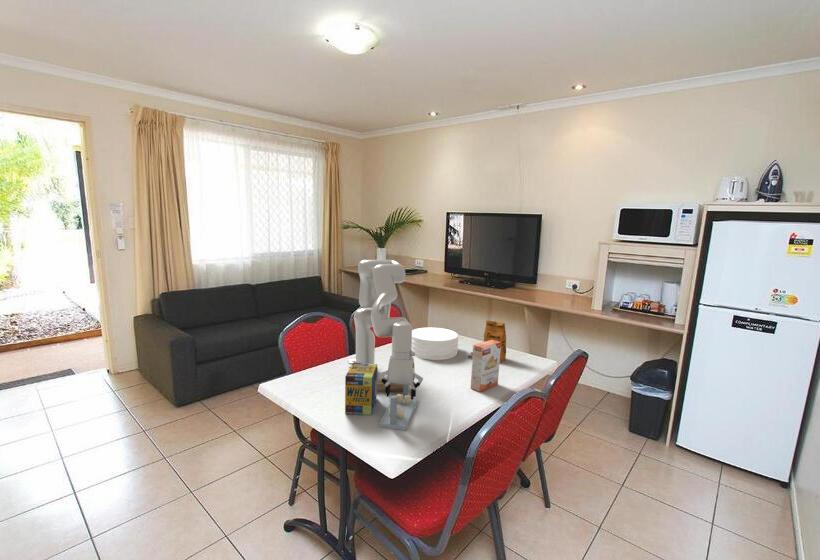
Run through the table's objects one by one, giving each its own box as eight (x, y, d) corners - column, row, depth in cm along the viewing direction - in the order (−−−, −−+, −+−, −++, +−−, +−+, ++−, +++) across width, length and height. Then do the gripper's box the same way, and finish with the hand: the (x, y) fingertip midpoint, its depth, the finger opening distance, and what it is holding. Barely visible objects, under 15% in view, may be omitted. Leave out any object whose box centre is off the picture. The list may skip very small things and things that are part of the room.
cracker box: (480, 393, 171) (483, 347, 168) (469, 388, 176) (472, 344, 173) (499, 385, 181) (501, 341, 178) (488, 381, 185) (490, 338, 182)
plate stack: (399, 351, 226) (399, 332, 224) (432, 342, 245) (433, 325, 243) (433, 364, 206) (434, 343, 204) (467, 354, 224) (468, 335, 223)
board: (409, 393, 169) (409, 385, 168) (372, 392, 169) (373, 383, 169) (409, 389, 173) (409, 381, 173) (374, 388, 174) (374, 379, 173)
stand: (379, 426, 140) (379, 396, 138) (395, 398, 163) (395, 372, 162) (405, 430, 138) (406, 400, 136) (418, 401, 161) (419, 375, 160)
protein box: (344, 414, 148) (344, 376, 146) (352, 397, 164) (352, 362, 161) (371, 416, 148) (372, 377, 146) (377, 398, 163) (377, 363, 161)
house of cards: (487, 359, 217) (488, 346, 216) (480, 363, 210) (481, 349, 209) (473, 355, 222) (474, 342, 221) (466, 359, 215) (466, 346, 214)
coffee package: (500, 364, 207) (503, 325, 204) (480, 359, 215) (482, 321, 212) (508, 360, 215) (510, 321, 212) (488, 355, 223) (490, 318, 220)
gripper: (425, 353, 149) (423, 395, 152) (382, 349, 153) (381, 390, 155) (422, 359, 142) (420, 403, 144) (376, 355, 145) (376, 398, 148)
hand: (400, 396), depth 150 cm, fingers open, 9 cm apart
